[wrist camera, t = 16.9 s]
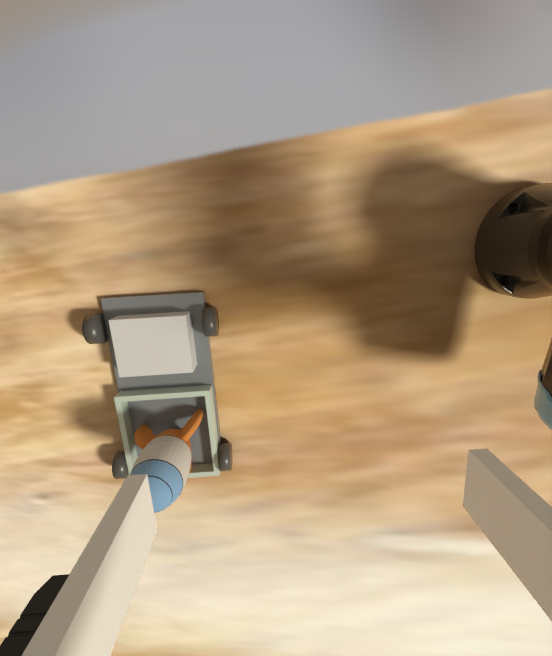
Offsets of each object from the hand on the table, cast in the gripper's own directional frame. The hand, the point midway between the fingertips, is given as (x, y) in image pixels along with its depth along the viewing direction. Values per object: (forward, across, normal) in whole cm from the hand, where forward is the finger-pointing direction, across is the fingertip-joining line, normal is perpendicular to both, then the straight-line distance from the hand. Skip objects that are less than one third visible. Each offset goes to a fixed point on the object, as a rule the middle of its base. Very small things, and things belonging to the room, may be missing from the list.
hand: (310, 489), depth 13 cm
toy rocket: (+34, +17, +17) cm, 42 cm away
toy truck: (+35, +17, +10) cm, 40 cm away
